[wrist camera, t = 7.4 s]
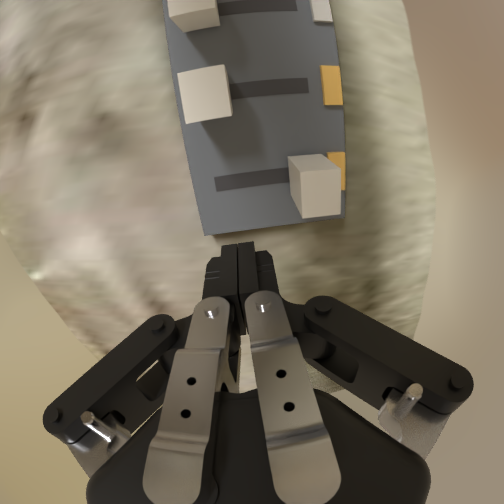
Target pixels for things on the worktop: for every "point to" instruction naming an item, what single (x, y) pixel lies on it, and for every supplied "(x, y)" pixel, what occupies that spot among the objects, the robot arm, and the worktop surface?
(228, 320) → the robot arm
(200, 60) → the switch board
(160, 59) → the worktop surface
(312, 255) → the worktop surface
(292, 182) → the slider
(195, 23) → the slider
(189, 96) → the slider middle
